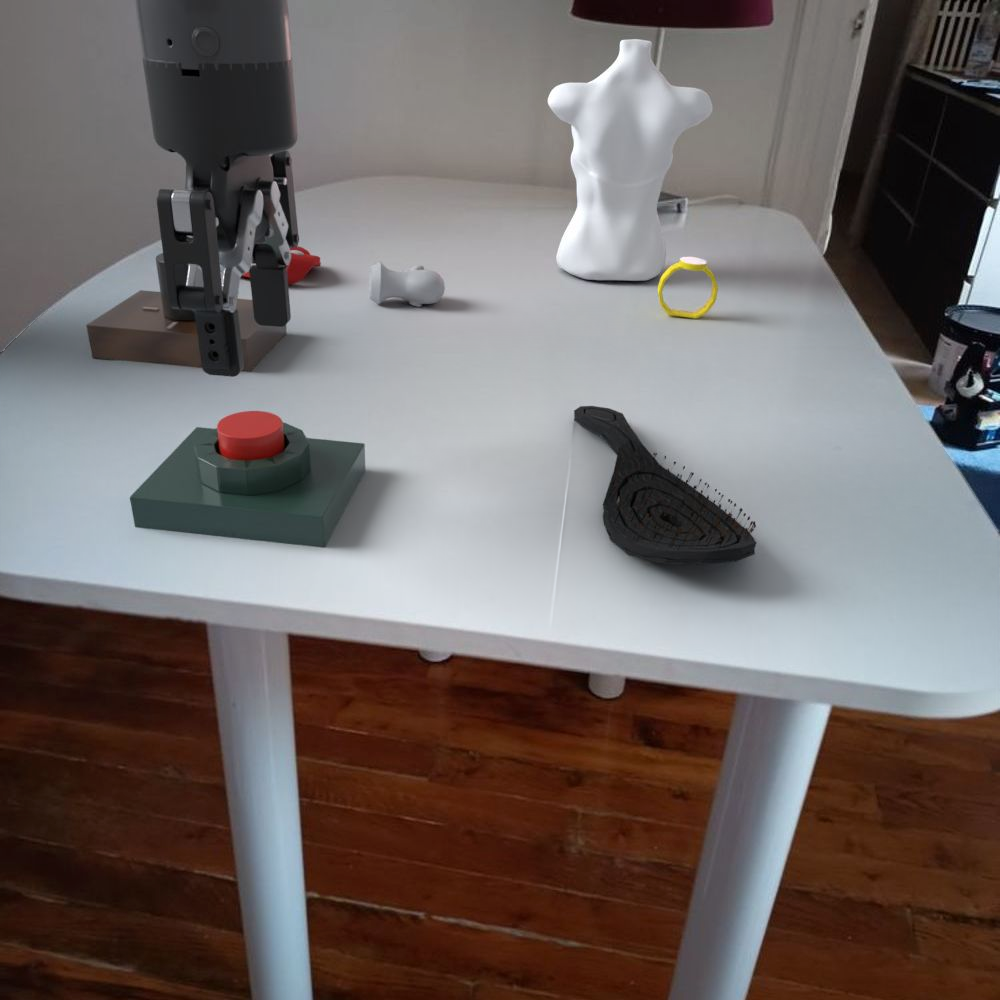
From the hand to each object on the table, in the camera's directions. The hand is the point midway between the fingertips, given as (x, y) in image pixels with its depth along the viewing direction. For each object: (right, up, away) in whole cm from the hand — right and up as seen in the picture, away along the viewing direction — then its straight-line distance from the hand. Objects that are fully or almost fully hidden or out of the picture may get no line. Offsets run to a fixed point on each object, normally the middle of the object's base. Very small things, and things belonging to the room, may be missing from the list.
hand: (250, 347), depth 55 cm
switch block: (-1, -9, +5) cm, 10 cm away
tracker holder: (-11, +16, +47) cm, 51 cm away
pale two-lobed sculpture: (+5, +11, +41) cm, 43 cm away
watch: (+34, +10, +41) cm, 54 cm away
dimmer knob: (-12, +7, +26) cm, 30 cm away
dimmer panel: (-13, +5, +27) cm, 30 cm away
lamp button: (-1, -6, +3) cm, 7 cm away
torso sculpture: (+28, +18, +54) cm, 63 cm away
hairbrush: (+25, -9, +8) cm, 27 cm away
